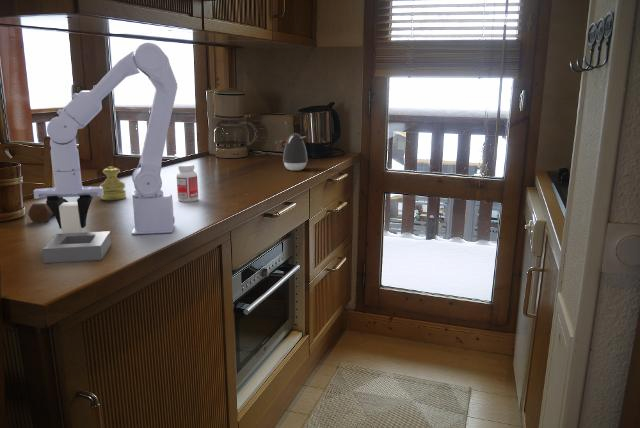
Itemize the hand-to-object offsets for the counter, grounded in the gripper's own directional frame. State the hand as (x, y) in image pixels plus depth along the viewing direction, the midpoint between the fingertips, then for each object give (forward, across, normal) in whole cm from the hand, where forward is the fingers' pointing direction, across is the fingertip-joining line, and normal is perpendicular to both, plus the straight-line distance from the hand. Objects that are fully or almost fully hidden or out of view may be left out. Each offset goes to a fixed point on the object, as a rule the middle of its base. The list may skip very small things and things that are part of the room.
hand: (73, 227), depth 124 cm
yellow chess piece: (+3, -2, -43) cm, 43 cm away
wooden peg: (+2, 0, 0) cm, 2 cm away
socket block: (+2, -4, +13) cm, 14 cm away
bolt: (+3, +10, -23) cm, 25 cm away
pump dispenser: (+3, -67, -88) cm, 111 cm away
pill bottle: (+3, -25, -36) cm, 44 cm away
